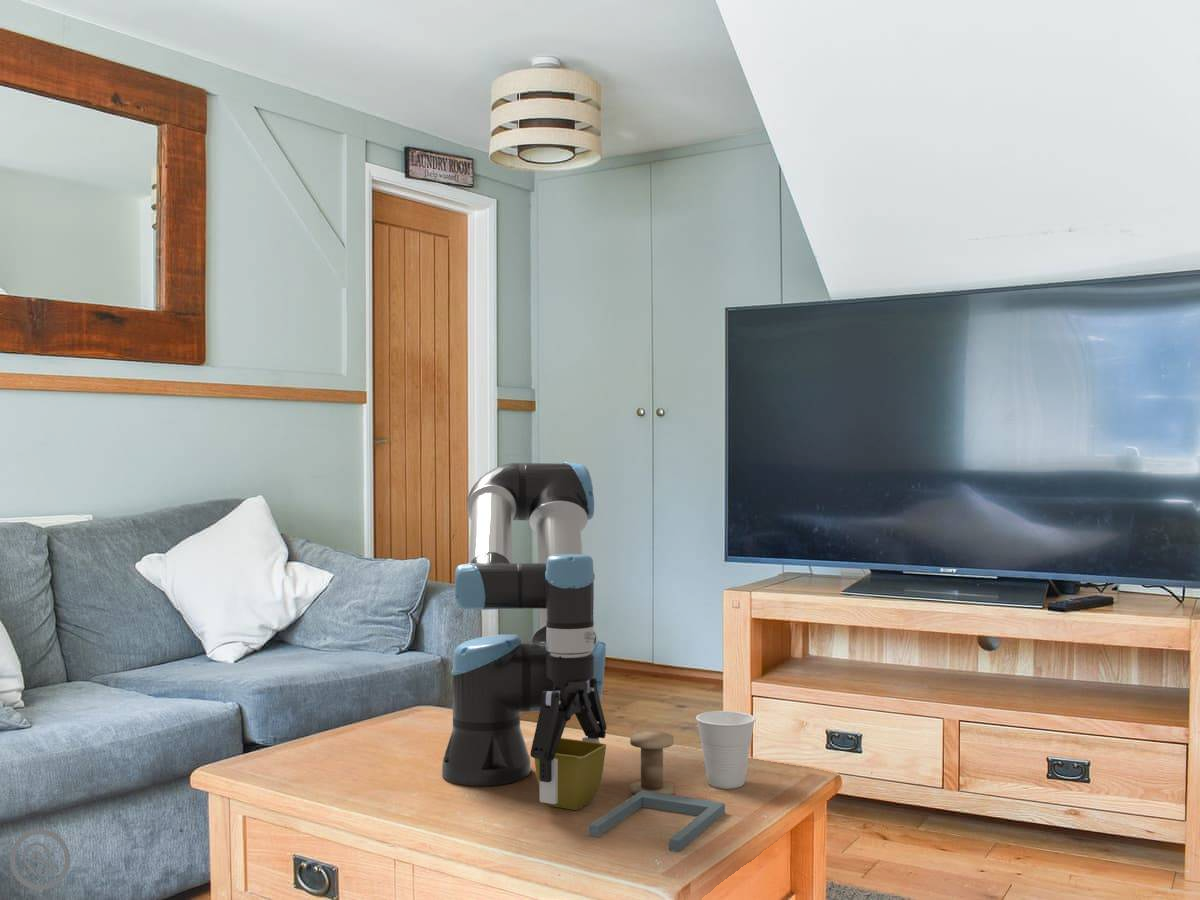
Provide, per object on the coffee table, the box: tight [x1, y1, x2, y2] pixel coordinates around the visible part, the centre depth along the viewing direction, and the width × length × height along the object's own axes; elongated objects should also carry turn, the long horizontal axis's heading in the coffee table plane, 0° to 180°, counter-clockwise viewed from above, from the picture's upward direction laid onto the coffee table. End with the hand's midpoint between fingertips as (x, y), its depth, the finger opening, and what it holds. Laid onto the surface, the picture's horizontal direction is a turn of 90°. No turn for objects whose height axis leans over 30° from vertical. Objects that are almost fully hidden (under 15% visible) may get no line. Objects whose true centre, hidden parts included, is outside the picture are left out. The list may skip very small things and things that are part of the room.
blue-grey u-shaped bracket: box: [587, 790, 726, 853], centre depth 149 cm, size 18×14×2 cm
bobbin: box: [629, 731, 675, 797], centre depth 164 cm, size 7×7×9 cm
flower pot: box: [534, 737, 607, 811], centre depth 159 cm, size 9×9×9 cm
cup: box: [695, 710, 756, 790], centre depth 169 cm, size 10×10×11 cm
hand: (570, 790), depth 158 cm, fingers open, 13 cm apart
